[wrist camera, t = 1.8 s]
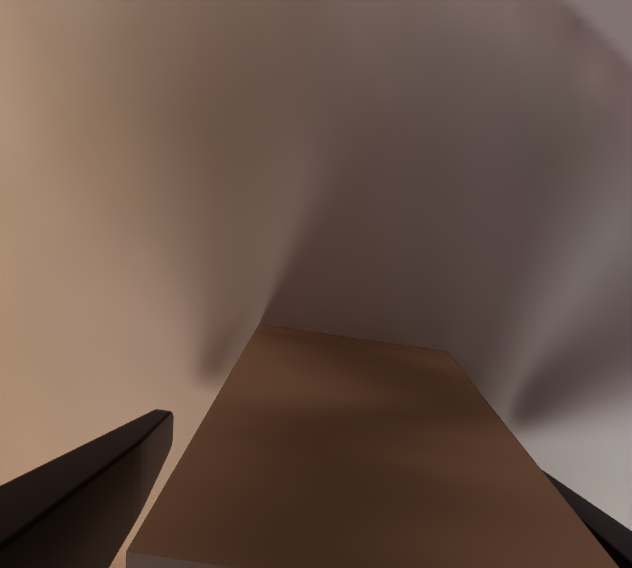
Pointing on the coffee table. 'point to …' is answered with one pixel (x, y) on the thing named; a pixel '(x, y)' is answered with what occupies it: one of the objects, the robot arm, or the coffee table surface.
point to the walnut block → (356, 470)
